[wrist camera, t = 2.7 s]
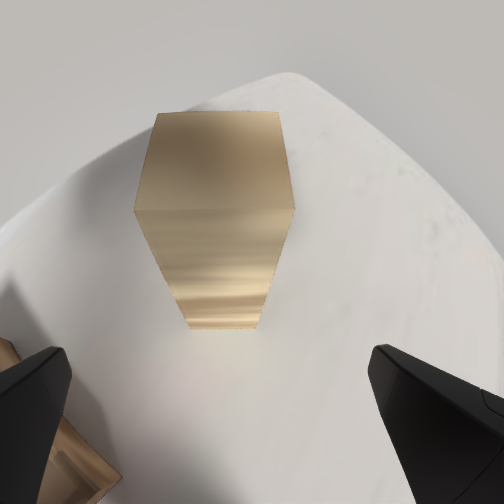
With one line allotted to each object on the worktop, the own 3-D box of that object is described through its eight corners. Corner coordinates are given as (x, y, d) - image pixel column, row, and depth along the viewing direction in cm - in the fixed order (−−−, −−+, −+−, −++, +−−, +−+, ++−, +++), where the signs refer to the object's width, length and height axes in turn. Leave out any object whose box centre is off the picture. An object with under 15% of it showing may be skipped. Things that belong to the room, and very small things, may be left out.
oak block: (255, 328, 21) (295, 209, 8) (190, 329, 20) (133, 211, 8) (252, 269, 23) (278, 112, 10) (192, 270, 22) (157, 113, 10)
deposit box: (122, 476, 15) (97, 492, 11) (43, 552, 9) (16, 567, 5) (10, 341, 18) (-23, 326, 14) (-49, 431, 12) (-79, 427, 8)
